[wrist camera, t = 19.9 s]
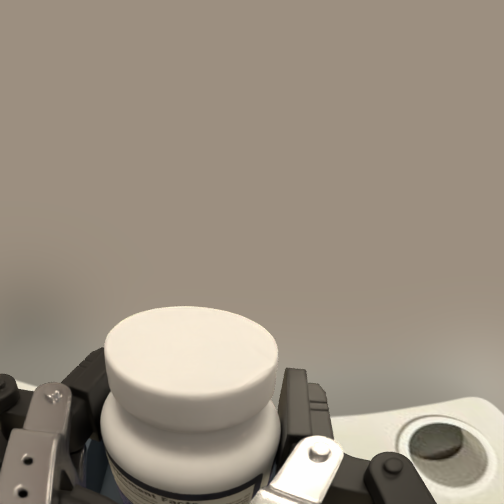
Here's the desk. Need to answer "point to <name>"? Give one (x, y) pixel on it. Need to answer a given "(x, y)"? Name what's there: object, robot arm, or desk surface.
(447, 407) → the desk surface
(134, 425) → the pill bottle
